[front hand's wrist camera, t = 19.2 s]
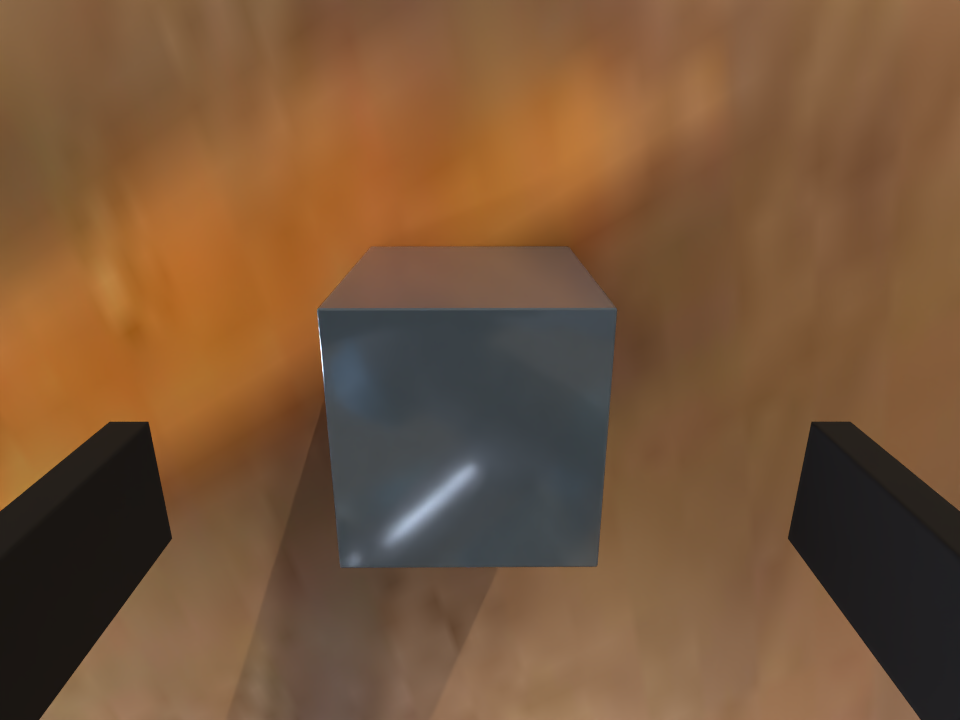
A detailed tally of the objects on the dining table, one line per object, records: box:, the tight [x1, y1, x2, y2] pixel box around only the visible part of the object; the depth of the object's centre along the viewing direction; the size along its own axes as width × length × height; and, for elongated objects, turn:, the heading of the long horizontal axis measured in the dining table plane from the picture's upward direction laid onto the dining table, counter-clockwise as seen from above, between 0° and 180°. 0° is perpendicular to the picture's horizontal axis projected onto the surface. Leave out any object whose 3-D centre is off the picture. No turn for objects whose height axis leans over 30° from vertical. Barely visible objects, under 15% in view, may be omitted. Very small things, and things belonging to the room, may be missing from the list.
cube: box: [317, 247, 617, 568], centre depth 18 cm, size 7×6×8 cm
